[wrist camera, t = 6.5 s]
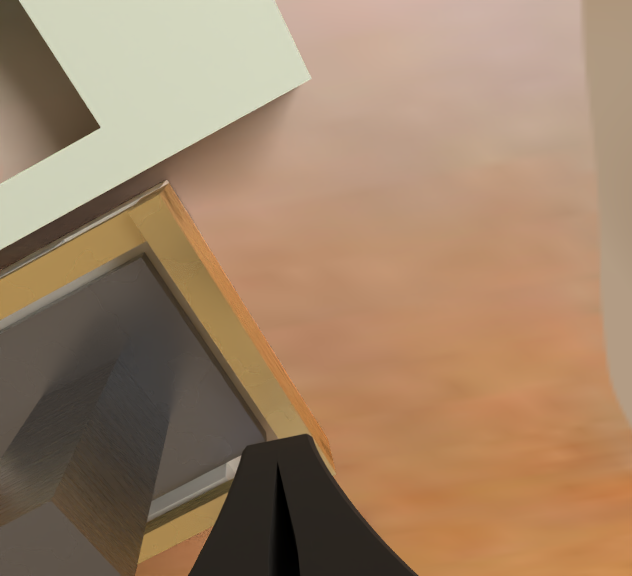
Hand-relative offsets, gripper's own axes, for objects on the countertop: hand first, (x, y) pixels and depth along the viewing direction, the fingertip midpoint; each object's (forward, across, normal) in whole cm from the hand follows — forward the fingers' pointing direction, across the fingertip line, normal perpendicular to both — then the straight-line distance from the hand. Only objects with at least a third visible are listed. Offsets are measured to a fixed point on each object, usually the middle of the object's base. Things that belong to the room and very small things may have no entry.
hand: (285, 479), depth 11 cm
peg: (+10, +6, +2) cm, 12 cm away
